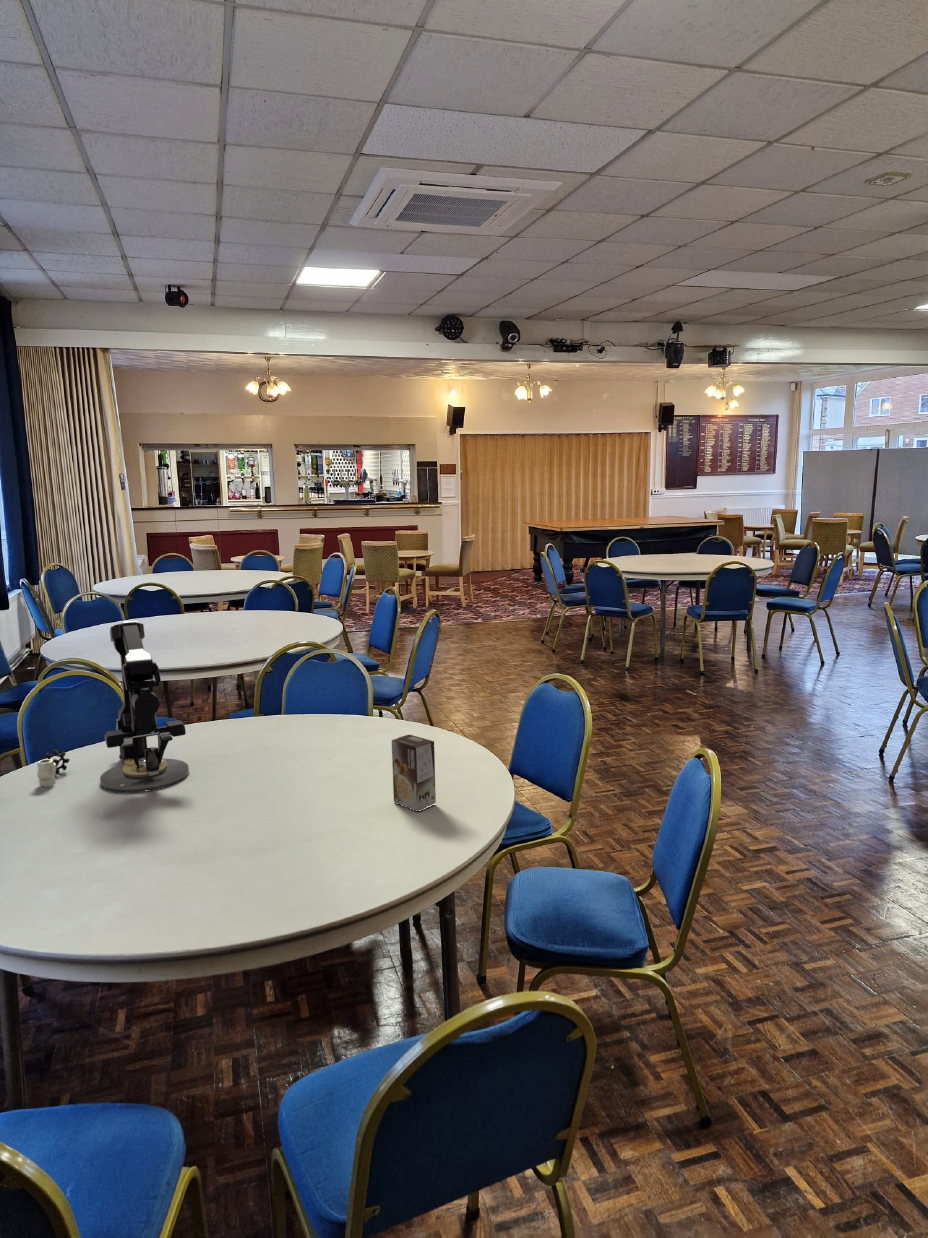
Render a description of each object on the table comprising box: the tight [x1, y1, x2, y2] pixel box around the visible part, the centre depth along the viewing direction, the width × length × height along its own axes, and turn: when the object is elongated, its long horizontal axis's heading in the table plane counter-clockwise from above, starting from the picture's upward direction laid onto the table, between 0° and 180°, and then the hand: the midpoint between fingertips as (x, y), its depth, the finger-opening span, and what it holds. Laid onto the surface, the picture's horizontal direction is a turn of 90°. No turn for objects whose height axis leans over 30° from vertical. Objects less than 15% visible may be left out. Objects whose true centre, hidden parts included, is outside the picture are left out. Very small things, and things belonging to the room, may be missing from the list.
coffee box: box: [391, 734, 437, 811], centre depth 188 cm, size 9×6×16 cm
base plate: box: [99, 757, 190, 793], centre depth 210 cm, size 22×22×2 cm
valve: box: [36, 749, 70, 788], centre depth 209 cm, size 7×7×12 cm
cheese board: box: [122, 746, 167, 778], centre depth 207 cm, size 11×16×8 cm
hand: (148, 765), depth 202 cm, fingers open, 5 cm apart
